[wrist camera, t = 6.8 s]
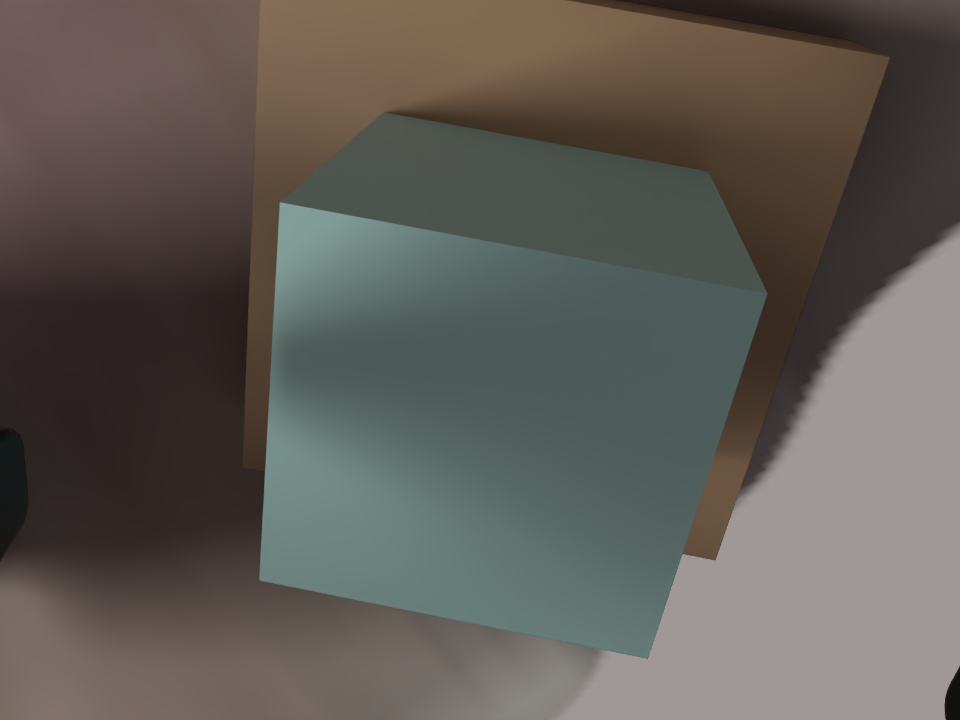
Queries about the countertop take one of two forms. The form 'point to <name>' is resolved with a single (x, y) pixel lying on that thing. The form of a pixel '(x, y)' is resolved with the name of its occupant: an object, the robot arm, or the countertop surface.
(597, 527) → the teal block
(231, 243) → the countertop surface
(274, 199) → the walnut base
